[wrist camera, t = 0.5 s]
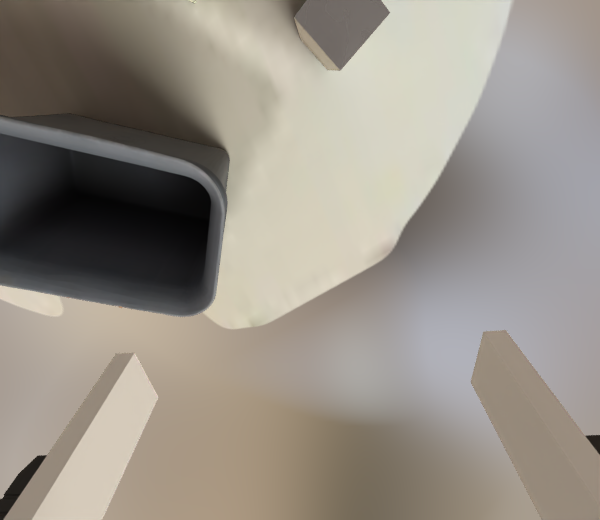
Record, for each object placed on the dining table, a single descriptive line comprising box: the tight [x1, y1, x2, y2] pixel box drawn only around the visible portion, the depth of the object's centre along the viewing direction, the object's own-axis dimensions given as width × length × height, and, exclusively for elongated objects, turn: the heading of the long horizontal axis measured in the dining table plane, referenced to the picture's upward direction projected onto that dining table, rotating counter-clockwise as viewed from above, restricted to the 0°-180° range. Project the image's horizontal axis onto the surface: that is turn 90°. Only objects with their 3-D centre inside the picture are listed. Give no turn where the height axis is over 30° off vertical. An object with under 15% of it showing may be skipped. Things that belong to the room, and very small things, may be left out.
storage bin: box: [0, 114, 230, 317], centre depth 29 cm, size 21×16×14 cm
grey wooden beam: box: [294, 0, 390, 71], centre depth 22 cm, size 3×3×14 cm
